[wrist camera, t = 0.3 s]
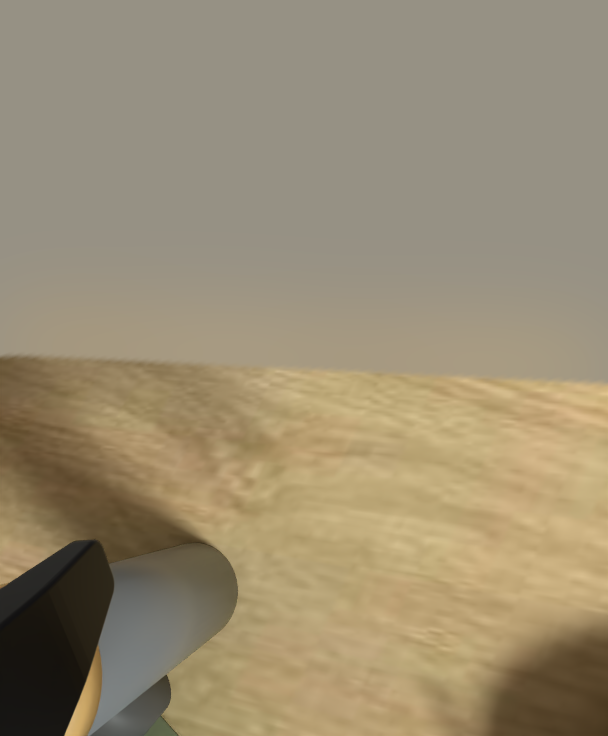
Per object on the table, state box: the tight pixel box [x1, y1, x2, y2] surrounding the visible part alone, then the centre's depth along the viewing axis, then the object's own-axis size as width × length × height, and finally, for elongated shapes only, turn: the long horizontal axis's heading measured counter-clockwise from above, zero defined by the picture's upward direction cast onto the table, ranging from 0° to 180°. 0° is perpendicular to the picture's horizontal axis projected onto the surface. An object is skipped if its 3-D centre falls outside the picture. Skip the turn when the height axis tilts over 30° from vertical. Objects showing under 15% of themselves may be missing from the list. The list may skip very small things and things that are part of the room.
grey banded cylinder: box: [0, 543, 238, 736], centre depth 18 cm, size 4×4×12 cm
